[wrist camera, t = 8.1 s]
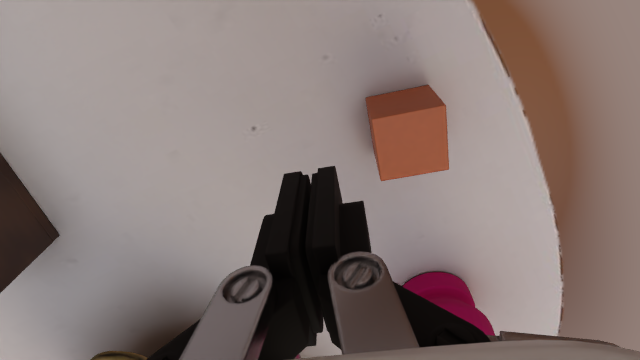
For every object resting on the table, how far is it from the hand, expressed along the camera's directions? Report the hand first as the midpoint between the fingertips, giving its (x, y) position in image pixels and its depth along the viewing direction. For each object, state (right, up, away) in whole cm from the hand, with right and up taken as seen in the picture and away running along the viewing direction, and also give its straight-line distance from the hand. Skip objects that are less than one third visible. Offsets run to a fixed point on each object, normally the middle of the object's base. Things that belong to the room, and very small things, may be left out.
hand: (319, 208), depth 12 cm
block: (+5, +5, +12) cm, 14 cm away
